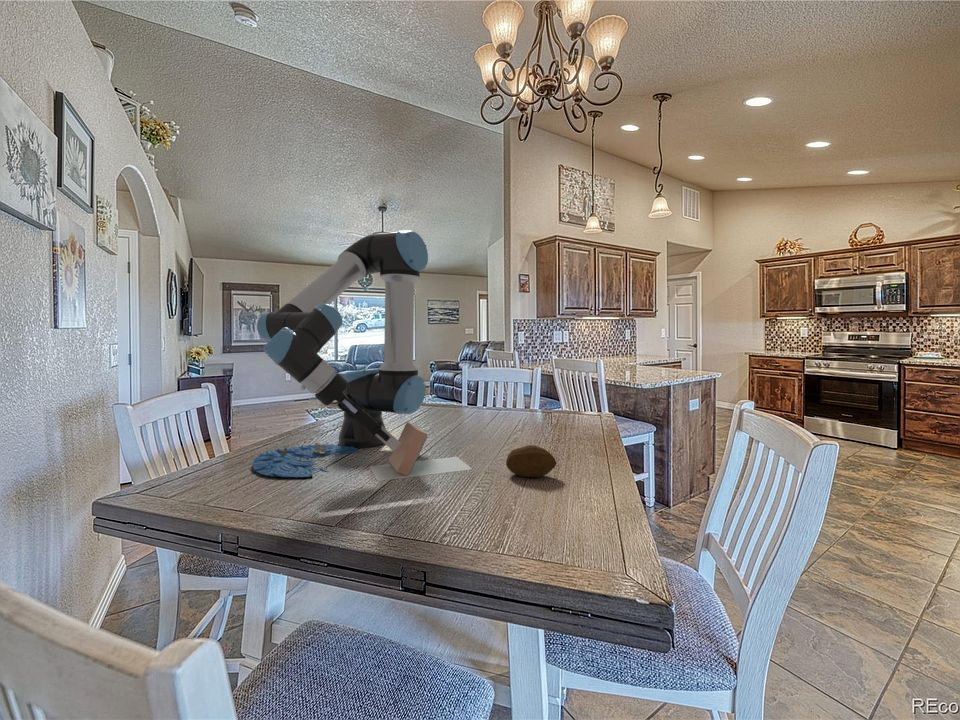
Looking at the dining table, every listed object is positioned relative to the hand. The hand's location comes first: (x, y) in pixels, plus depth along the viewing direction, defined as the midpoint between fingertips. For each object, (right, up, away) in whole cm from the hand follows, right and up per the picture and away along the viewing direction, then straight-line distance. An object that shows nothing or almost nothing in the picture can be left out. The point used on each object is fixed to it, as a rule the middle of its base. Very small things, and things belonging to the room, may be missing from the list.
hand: (396, 446), depth 118 cm
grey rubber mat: (+6, -7, +3) cm, 9 cm away
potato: (+34, -7, 0) cm, 34 cm away
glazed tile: (0, -5, +1) cm, 6 cm away
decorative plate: (-25, -7, +11) cm, 28 cm away
